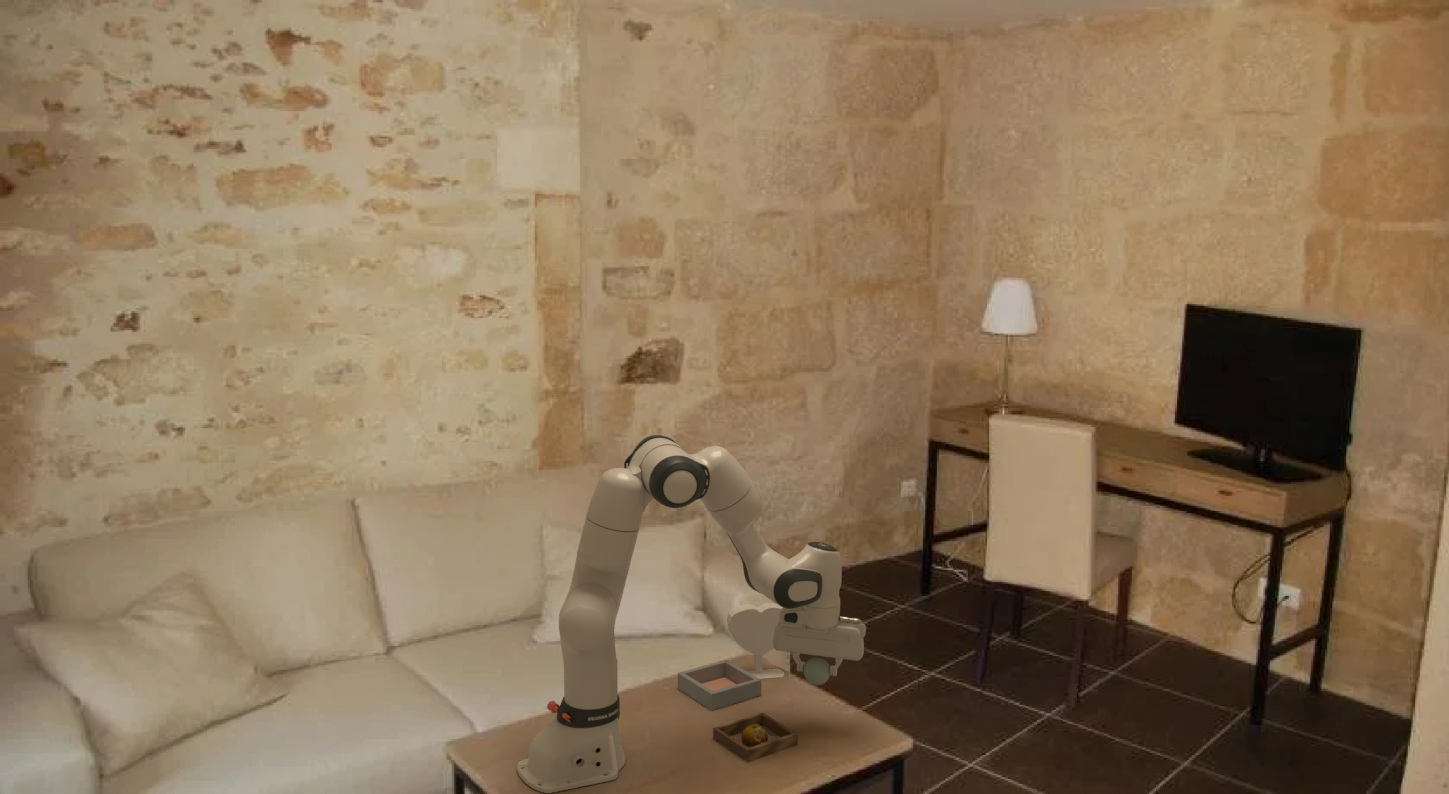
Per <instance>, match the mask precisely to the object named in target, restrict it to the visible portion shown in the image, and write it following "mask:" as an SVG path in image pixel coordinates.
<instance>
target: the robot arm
mask: <svg viewBox="0 0 1449 794" xmlns="http://www.w3.org/2000/svg"><path fill="white" fill-rule="evenodd" d="M652 500H655V501H656V502H657V503H659V504H661V505H663V506H664V507H668V508H670V509H671V508H672V509H679V508H684V507H687V506H689V505H691V504H692V503H695V502H696V501H697V500H701V502H702V503H703V505H704V507H705V508H706V509H707V511H708V512H709V514H710V515H711V517H712V518H713V520H714V521H715V522H716V524H718V525H719V526H720V527H721V528H722V529H723V530H724V531H725V533H726V534H727V537H728V538H729V540H730V541H731V543H732V545H733V546H734V548H735V550H736V552H737V553H738V556H739V557H740V560H741V564H742V568H743V575H744V579H745V581H746V583H747V585H748V587H750V588H751V589H752V590H753V591H755V592H756V593H758V594H761V595H763V597H765V598H767V599H769V600H770V601H772V603H775V604H778V605H779V606H781V607H783V608H782V609H781V611H780V614H779V621H778V623H777V625H776V627H775V631H774V636H773V647H774V650H775V651H778V652H785V653H792V658H793V660H794V662H795V664H796V671H797V672H801V673H804V666H805V664H806V662H805V661H802V660H801V658H800V655H801V654H803V655H811V656H819V657H824V658H834V659H835V665H830V666H829V667H830V676H832V677H837V674H838V668H839V667H840V665H841V664H842V662H843V660H850V661H856V662H857V661H858V662H859V661H860V660H861V659H862V658H863V657H864V650H865V649H864V648H865V643H864V638H865V637H866V634H867V627H866V626H867V625H866V624H865V622H864V621H862V620H860V618H859V617H849V616H841V615H840V614H841V613H840V612H841V597H840V589H841V585H842V573H843V571H842V569H843V568H842V566H843V565H842V556H841V552H840V551H839V550H838V549H837V548H836V547H834V546H832V545H831V544H828V543H825V542H821V541H809V542H807V543H806V544H805V546H804V548H803V549H802V550H801V551H800V552H798V553H797V554H795V555H794V556H792V557H791V558H787V557H786V556H784V555H783V554H781V553H780V552H778V551H777V550H776V549H774V548H772V547H770V546H768V545H767V543H766V542H765V540H764V539H763V536H762V535H761V533H760V531H759V529H758V528H757V526H756V525H755V523H756V522H757V521H758V520H759V519H760V517H761V514H762V513H763V512H762V511H763V506H764V504H763V501H762V499H761V496H760V493H759V491H758V488H757V486H756V485H755V484H754V482H753V480H752V479H751V477H750V476H749V474H748V472H747V471H746V470H745V469H744V468H743V466H742V465H741V464H740V463H739V461H738V460H737V459H736V458H735V457H734V455H732V454H731V452H729V450H727V449H726V448H725V447H722V446H721V445H710V446H706V447H704V448H702V449H700V450H699V451H698V452H696V453H693V454H691V453H688V451H686V450H685V449H684V448H683V447H682V446H680V445H679V444H678V443H677V442H676V441H675V440H674V439H672V438H670V437H668V436H665V435H660V434H654V435H650V436H646V437H645V438H643V439H642V440H641V441H639V442H638V443H637V445H636V446H635V447H634V449H633V450H632V452H631V453H630V455H629V456H628V457H627V458H626V459H625V461H624V464H623V467H614V468H610V469H607V470H606V471H604V472H603V474H602V475H601V476H600V478H599V479H598V482H597V485H596V486H595V489H594V491H593V494H592V496H591V498H590V502H589V506H588V507H587V512H586V516H585V520H584V524H583V527H582V528H583V529H582V532H581V536H580V539H579V544H578V547H577V551H576V559H575V564H574V570H573V574H572V577H571V578H572V579H571V582H570V583H571V584H570V586H569V590H568V593H567V595H566V598H565V600H564V602H563V604H562V606H561V609H560V611H559V614H558V632H559V638H560V639H559V642H560V647H561V654H562V659H563V660H562V661H563V692H564V693H563V698H562V699H561V702H560V704H559V703H557V702H556V701H554V700H550V701H549V702H548V703H547V704H546V707H547V710H548V711H549V712H551V713H552V714H556V717H555V718H553V720H551V722H550V723H549V724H547V725H546V727H545V728H543V729H542V730H541V731H540V732H539V733H538V734H537V735H535V737H534V738H533V739H532V740H531V742H530V745H529V748H528V749H529V750H528V754H527V756H528V757H527V758H524V759H522V760H520V761H518V762H517V767H516V770H517V774H518V776H519V778H520V779H521V780H522V781H523V782H524V783H525V784H526V785H527V786H529V787H530V788H532V789H533V790H535V791H538V792H541V793H545V794H552V793H557V792H562V791H568V790H572V789H576V788H581V787H586V786H590V785H596V784H601V783H606V782H611V781H614V780H616V779H617V778H618V777H619V772H620V770H621V769H622V768H623V767H624V765H625V764H626V755H625V753H624V749H623V746H622V745H623V744H622V739H621V733H620V725H619V724H620V723H619V719H620V715H621V705H620V704H621V701H620V696H619V693H618V689H619V687H618V685H619V684H618V683H619V682H618V681H619V679H618V659H617V653H616V652H617V651H616V641H615V625H616V619H617V616H618V613H619V609H620V607H621V602H622V599H623V595H624V590H625V586H626V582H627V578H628V574H629V570H630V566H631V562H632V558H633V555H634V550H635V546H636V543H637V540H638V535H639V531H640V527H641V523H642V518H643V514H644V512H645V510H646V508H647V506H648V505H649V504H650V502H651V501H652Z"/></svg>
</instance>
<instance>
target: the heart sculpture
mask: <svg viewBox="0 0 1449 794" xmlns="http://www.w3.org/2000/svg"><path fill="white" fill-rule="evenodd" d="M782 608H783V607H781V606H779V605H778V604H776V603H775V602H765V603H763V604H761V605H759V606H756V605H754V604H751V603H747V604H741V605H738V606H736V607H733V608H732V609H730V610H729V611H728V612H727V619H726V622H727V623H726V624H727V629H728V631H729V633H730V635H731V636H732V639H734V641H735V643H736V644H737V645H738V646H740V647H741V648H742V649H743V650H745V651H747V652H749V654H752V655H754V657H753V670H746V671H747V672H748V673H750V674H752V675H754V676H755V677H757V678H759V679H761V680H762V679H772V678H773V679H775V678H776V679H777V678H783V677H784V676H785V672H784V671H782V669H779V668H772V669H770V668H769V669H763V657H764V656H765V655H766V654H768V653H770V652H771V651H772V650H775V648H774V647H773V636H774V631H775V627H776V625H777V623H778V621H779V614H780V611H781V609H782Z"/></svg>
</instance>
